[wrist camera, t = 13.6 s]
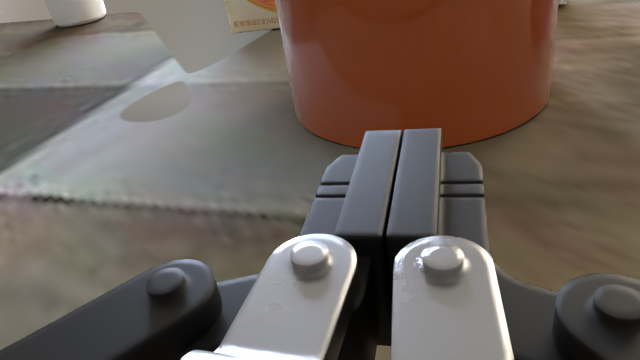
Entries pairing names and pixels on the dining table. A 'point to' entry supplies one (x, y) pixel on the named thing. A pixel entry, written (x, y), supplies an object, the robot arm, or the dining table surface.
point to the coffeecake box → (251, 15)
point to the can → (75, 11)
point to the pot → (418, 65)
